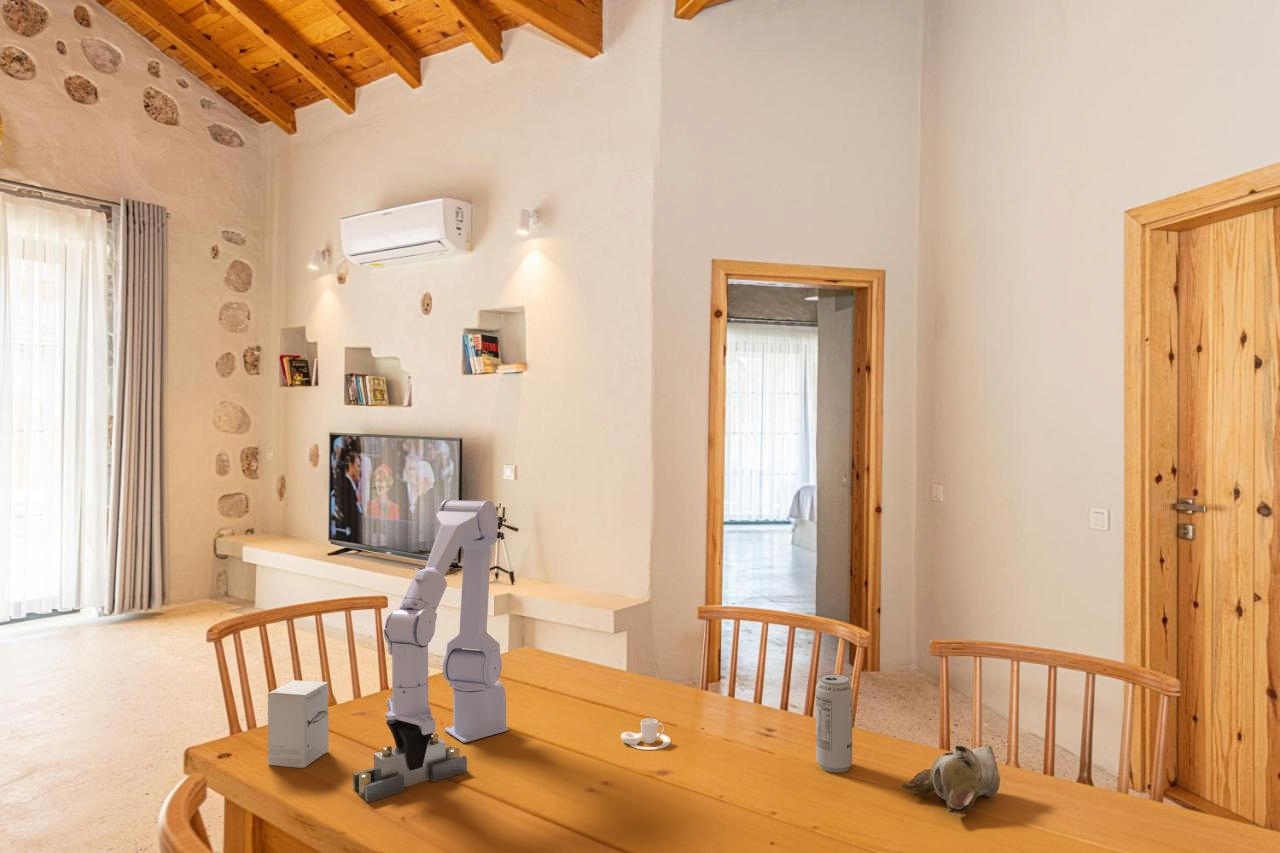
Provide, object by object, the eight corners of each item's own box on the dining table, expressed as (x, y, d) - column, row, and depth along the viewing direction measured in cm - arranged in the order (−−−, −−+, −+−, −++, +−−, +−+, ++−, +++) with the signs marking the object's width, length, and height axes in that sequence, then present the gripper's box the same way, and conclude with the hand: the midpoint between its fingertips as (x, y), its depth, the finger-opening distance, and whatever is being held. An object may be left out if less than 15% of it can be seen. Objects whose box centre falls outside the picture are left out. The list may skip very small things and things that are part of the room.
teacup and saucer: (616, 747, 148) (616, 725, 148) (633, 732, 156) (633, 710, 156) (661, 755, 145) (661, 732, 145) (676, 738, 153) (676, 716, 152)
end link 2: (451, 760, 143) (451, 743, 142) (467, 772, 138) (467, 754, 138) (418, 770, 139) (417, 752, 139) (433, 782, 134) (433, 764, 134)
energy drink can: (857, 773, 136) (857, 683, 136) (821, 774, 136) (821, 684, 136) (845, 758, 142) (845, 672, 142) (811, 759, 142) (811, 673, 142)
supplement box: (305, 769, 139) (304, 695, 139) (266, 765, 141) (265, 692, 141) (330, 751, 147) (329, 681, 146) (293, 748, 148) (292, 678, 148)
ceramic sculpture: (1019, 746, 126) (951, 773, 118) (1022, 802, 126) (954, 832, 119) (962, 724, 135) (895, 747, 128) (965, 776, 135) (898, 802, 128)
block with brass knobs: (437, 768, 139) (437, 730, 139) (445, 774, 137) (445, 735, 137) (374, 787, 132) (373, 747, 132) (381, 794, 130) (381, 753, 130)
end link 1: (389, 778, 136) (389, 760, 135) (404, 791, 131) (404, 772, 131) (352, 789, 132) (352, 770, 132) (366, 803, 127) (366, 783, 127)
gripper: (369, 676, 138) (370, 757, 138) (405, 699, 126) (405, 787, 127) (409, 668, 142) (410, 746, 142) (447, 689, 131) (448, 774, 131)
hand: (411, 764), depth 135 cm, fingers closed on block with brass knobs, 3 cm apart
